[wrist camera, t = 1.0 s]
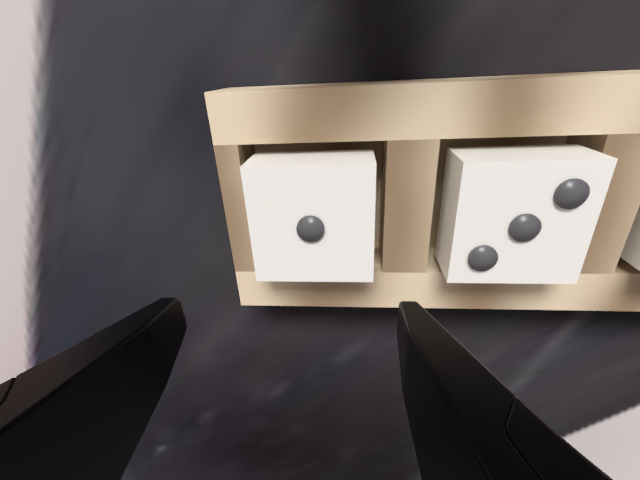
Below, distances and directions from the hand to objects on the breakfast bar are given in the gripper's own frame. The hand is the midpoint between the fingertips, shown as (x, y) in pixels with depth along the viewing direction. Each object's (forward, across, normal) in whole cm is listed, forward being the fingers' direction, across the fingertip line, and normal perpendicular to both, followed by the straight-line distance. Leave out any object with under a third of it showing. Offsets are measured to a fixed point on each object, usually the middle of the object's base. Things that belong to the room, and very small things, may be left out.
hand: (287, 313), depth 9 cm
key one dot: (+8, 0, 0) cm, 8 cm away
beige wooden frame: (+10, -8, 0) cm, 13 cm away
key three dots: (+8, -8, 0) cm, 11 cm away
